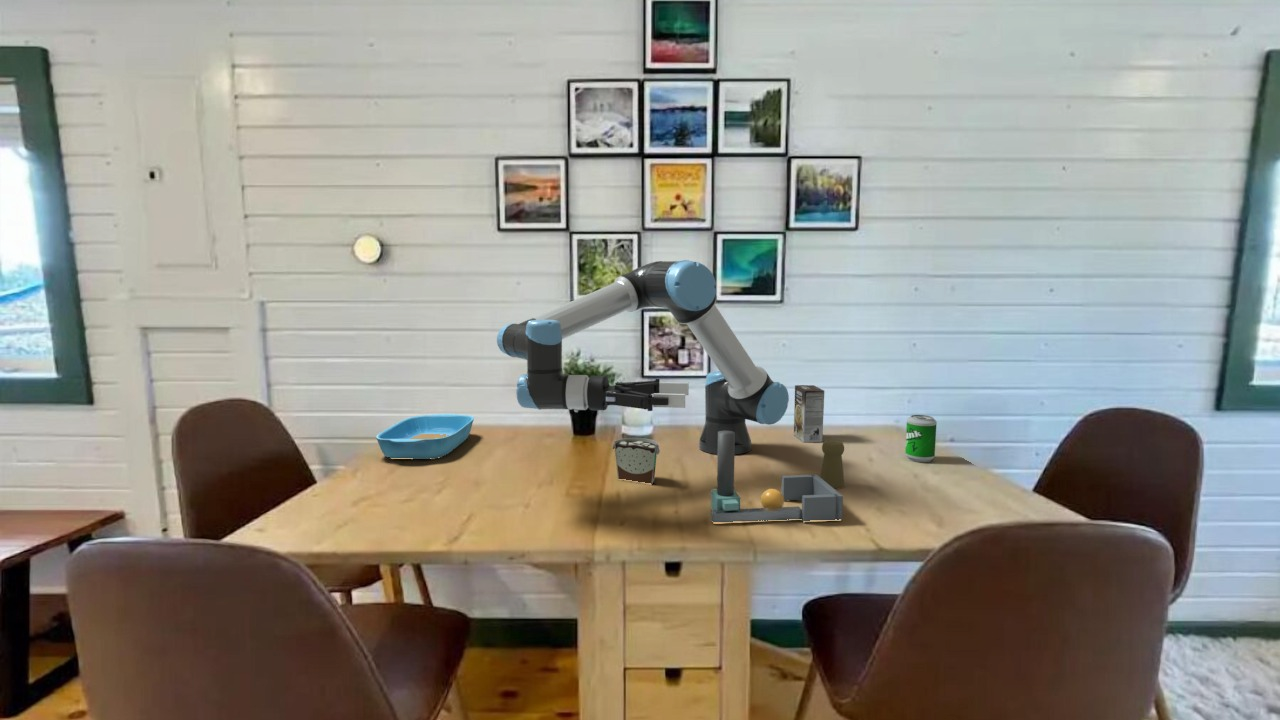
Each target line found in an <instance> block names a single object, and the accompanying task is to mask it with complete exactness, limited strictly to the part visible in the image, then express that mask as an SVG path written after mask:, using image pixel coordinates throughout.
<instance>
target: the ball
mask: <svg viewBox="0 0 1280 720" xmlns="http://www.w3.org/2000/svg"><path fill="white" fill-rule="evenodd" d="M760 504H761V506H762V508H775V507H784V504H785V501H784V497H783V495H782V491H780V490H778V489H775V488H769V489H766V490H765V491H764V492H763V493H762V495H761V497H760Z"/></svg>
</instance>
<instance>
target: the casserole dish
mask: <svg viewBox="0 0 1280 720" xmlns="http://www.w3.org/2000/svg"><path fill="white" fill-rule="evenodd" d="M474 419H475V416H473V415H468V414H460V413H459V414H457V413H434V414H422V415H421V414H420V415H414V416H410V417H406V418H404V419H403V420H400V421H398V422H397V423H394V424H393V425H391V426H389V427H388V428H385V429H383V430H382V431H381V432H379V433H378V434H377V435H376V438H375V439H376V441H377V443H378V445H379V446H378V447H379V448H380V450H381V452H382V454H383V455H384V456H385V457H386V458H388V457H390V458H413V459H430V458H438V457H441V458H443V457H442V456H444V455H445V456H447V455H448V454H450V453H451V452H452V451H454V450H455V449H456V448H457V447H459V445H461V444H462V443H463V442H465V441H466V439H468V438H469V436H470V434H471V430H472V426H473V422H474ZM420 434H440V435H443V434H446V436H447V435H449V436H447V437H443V438H435V439H410V438H413V437H414V436H417V435H420ZM453 449H454V450H453ZM446 454H447V455H446ZM445 456H444V457H445ZM390 458H389V459H390ZM413 459H412V460H413ZM438 459H439V458H438Z"/></svg>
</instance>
